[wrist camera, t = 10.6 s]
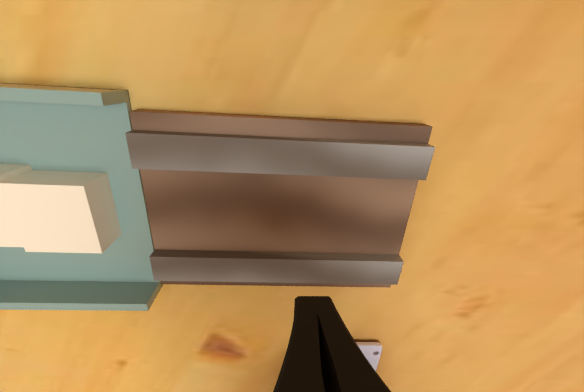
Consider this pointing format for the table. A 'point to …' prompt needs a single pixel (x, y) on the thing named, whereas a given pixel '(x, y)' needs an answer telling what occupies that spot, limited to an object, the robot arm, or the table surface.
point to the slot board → (276, 197)
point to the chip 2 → (62, 211)
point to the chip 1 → (3, 228)
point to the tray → (77, 158)
